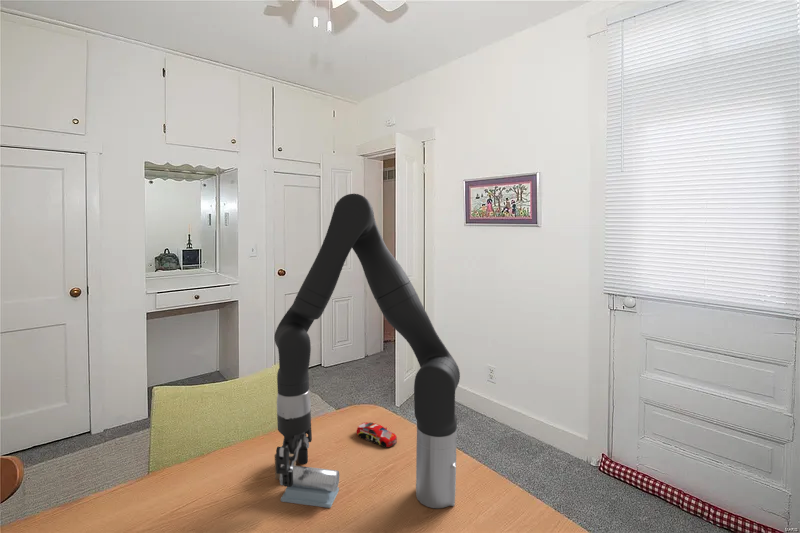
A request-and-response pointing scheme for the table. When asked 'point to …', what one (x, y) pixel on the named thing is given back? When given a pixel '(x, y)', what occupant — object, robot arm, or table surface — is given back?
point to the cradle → (309, 496)
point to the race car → (376, 434)
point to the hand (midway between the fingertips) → (295, 474)
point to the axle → (314, 478)
